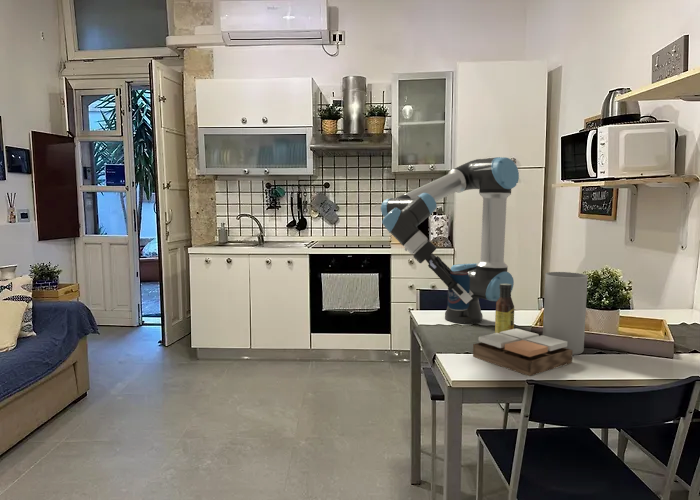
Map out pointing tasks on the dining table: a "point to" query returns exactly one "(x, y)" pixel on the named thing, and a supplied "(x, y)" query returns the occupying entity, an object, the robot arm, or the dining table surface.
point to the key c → (548, 342)
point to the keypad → (522, 359)
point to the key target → (526, 348)
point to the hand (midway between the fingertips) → (469, 298)
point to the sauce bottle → (504, 310)
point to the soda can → (453, 298)
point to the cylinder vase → (565, 308)
